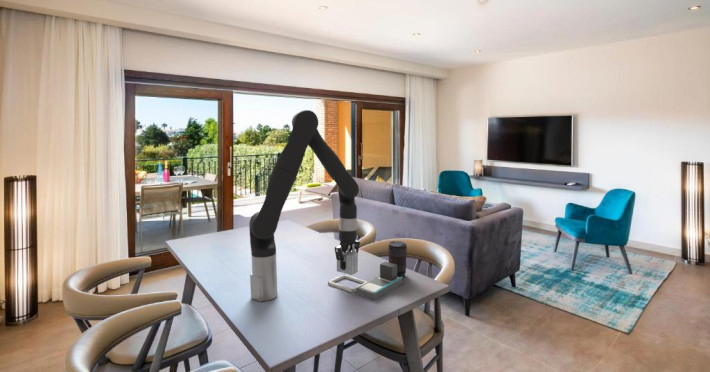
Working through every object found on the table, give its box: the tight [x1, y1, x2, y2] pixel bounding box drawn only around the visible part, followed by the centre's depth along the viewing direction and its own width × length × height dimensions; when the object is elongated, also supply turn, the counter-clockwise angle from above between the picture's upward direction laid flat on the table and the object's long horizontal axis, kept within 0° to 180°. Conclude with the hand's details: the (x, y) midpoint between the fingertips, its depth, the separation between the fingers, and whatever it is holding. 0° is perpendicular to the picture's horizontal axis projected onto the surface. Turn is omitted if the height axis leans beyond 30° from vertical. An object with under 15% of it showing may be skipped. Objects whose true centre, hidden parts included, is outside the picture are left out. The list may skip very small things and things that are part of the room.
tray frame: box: [327, 273, 369, 294], centre depth 154 cm, size 11×14×1 cm
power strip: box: [356, 261, 404, 301], centre depth 149 cm, size 20×9×9 cm, turn 141°
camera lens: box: [387, 240, 408, 278], centre depth 162 cm, size 8×8×15 cm
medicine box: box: [336, 251, 359, 276], centre depth 153 cm, size 8×4×9 cm, turn 57°
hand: (347, 267), depth 153 cm, fingers closed on medicine box, 4 cm apart
